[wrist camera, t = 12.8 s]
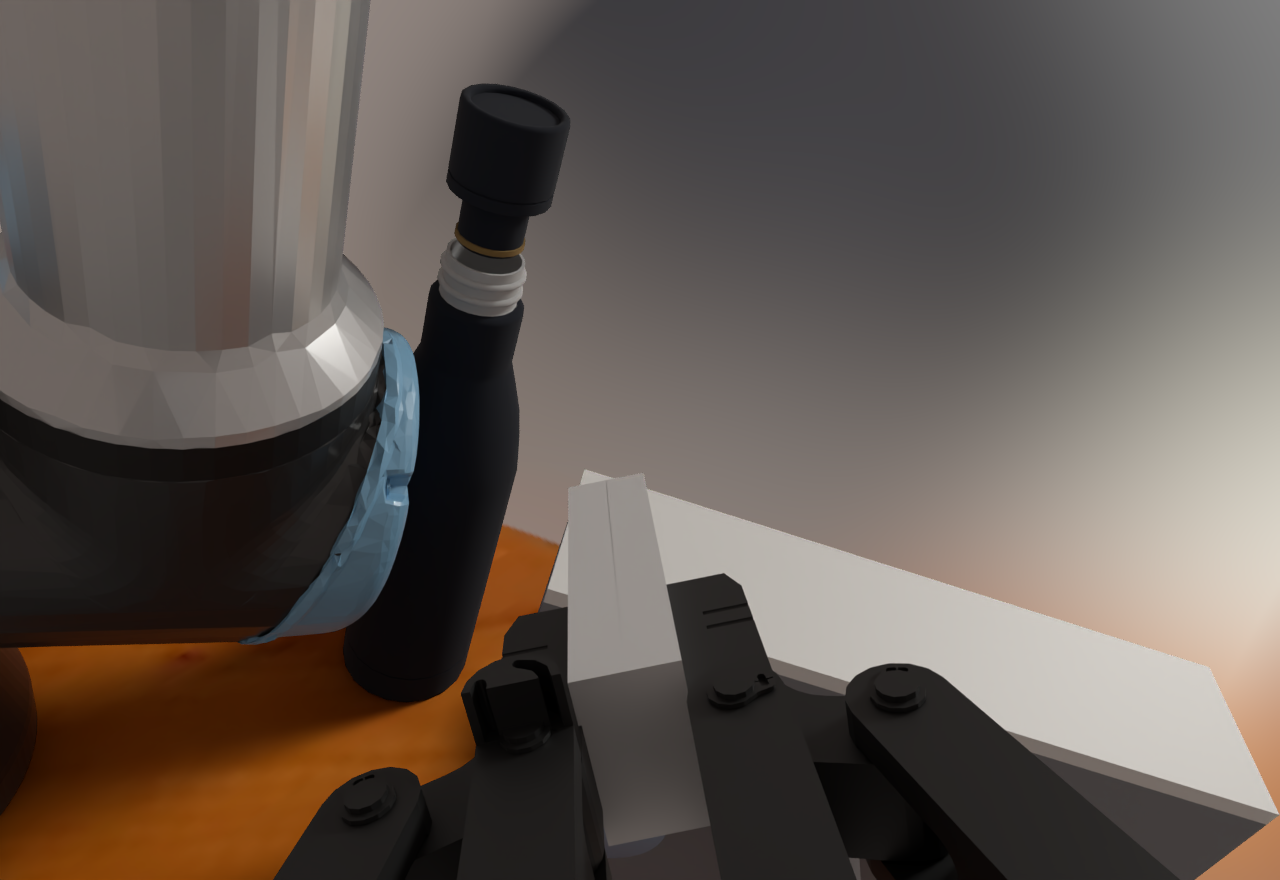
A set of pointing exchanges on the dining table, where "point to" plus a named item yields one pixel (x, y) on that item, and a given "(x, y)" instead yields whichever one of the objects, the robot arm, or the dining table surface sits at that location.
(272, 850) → the dining table surface
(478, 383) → the wine bottle
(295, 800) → the dining table surface
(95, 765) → the dining table surface
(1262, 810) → the control panel
